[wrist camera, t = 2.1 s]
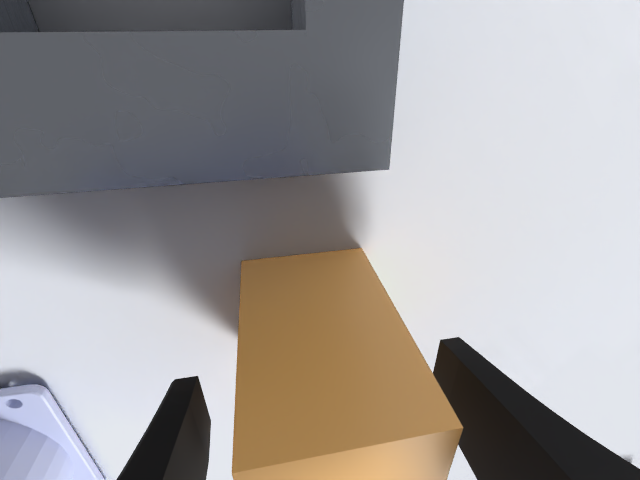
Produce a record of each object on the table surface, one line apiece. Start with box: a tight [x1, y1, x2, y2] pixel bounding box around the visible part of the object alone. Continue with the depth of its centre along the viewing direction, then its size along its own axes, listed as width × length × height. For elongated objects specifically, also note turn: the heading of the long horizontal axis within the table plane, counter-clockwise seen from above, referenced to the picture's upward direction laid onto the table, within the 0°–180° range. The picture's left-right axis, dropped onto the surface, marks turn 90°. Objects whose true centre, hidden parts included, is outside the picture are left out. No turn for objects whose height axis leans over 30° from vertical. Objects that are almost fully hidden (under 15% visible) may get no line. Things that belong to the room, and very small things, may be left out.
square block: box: [232, 248, 463, 480], centre depth 10 cm, size 4×4×7 cm
